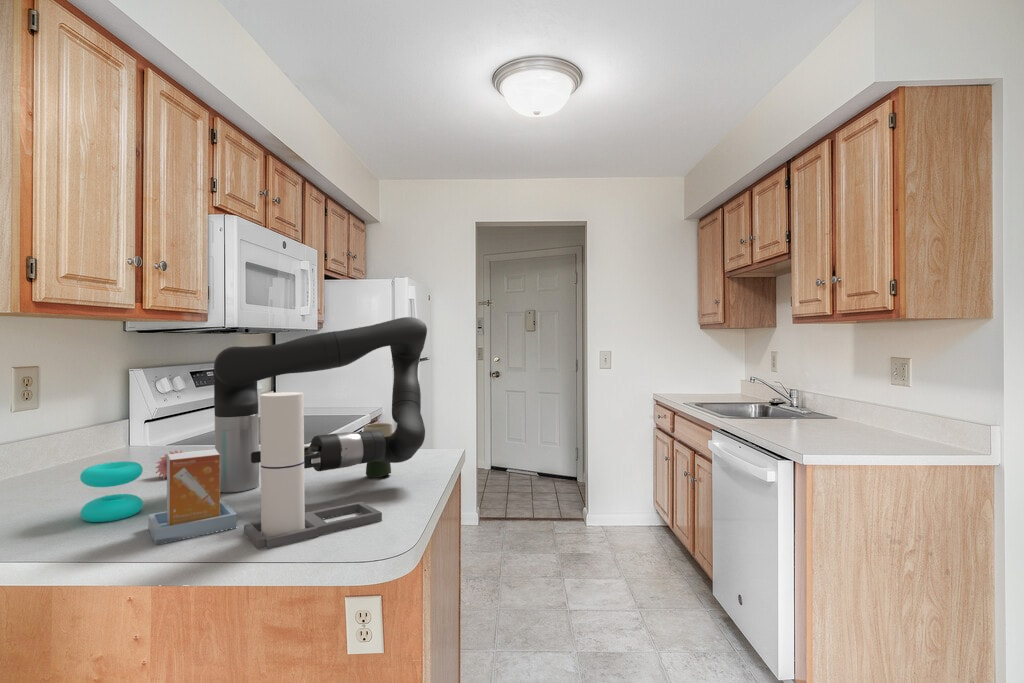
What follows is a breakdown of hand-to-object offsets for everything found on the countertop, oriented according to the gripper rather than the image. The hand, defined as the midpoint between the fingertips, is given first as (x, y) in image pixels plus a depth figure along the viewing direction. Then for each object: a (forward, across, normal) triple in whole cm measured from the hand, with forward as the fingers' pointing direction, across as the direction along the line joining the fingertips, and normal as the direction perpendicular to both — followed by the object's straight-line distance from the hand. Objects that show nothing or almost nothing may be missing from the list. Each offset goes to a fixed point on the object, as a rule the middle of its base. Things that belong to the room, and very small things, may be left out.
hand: (256, 461), depth 107 cm
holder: (-6, +14, +11) cm, 19 cm away
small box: (+11, 0, +10) cm, 15 cm away
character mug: (-32, -13, +11) cm, 36 cm away
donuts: (+22, -19, +11) cm, 31 cm away
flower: (+8, -47, +11) cm, 49 cm away
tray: (+11, 0, +11) cm, 15 cm away
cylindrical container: (-1, +14, +11) cm, 18 cm away
